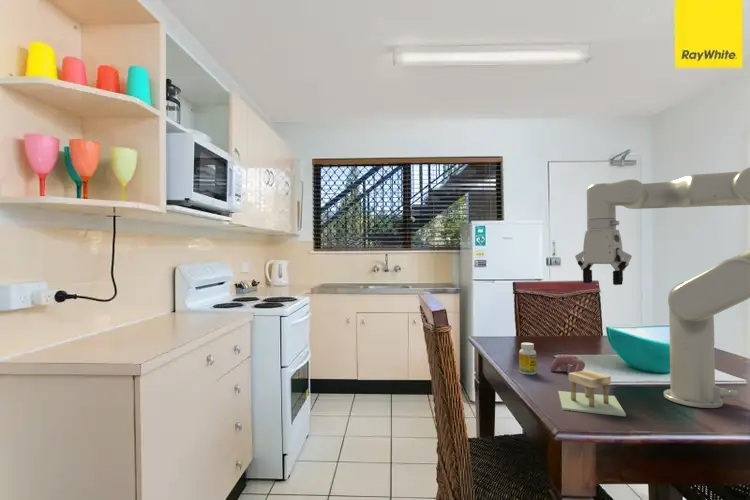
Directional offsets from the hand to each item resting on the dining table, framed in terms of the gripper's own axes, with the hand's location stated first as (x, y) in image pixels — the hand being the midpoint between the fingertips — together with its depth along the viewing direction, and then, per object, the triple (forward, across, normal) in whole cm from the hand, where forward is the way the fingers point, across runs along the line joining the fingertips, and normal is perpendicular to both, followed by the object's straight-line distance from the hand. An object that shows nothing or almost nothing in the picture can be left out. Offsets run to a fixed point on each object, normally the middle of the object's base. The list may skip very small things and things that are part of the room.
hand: (602, 283), depth 125 cm
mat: (+30, -8, +16) cm, 35 cm away
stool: (+30, -8, +16) cm, 35 cm away
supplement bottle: (+31, +21, +8) cm, 38 cm away
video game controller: (+31, +15, -3) cm, 34 cm away
